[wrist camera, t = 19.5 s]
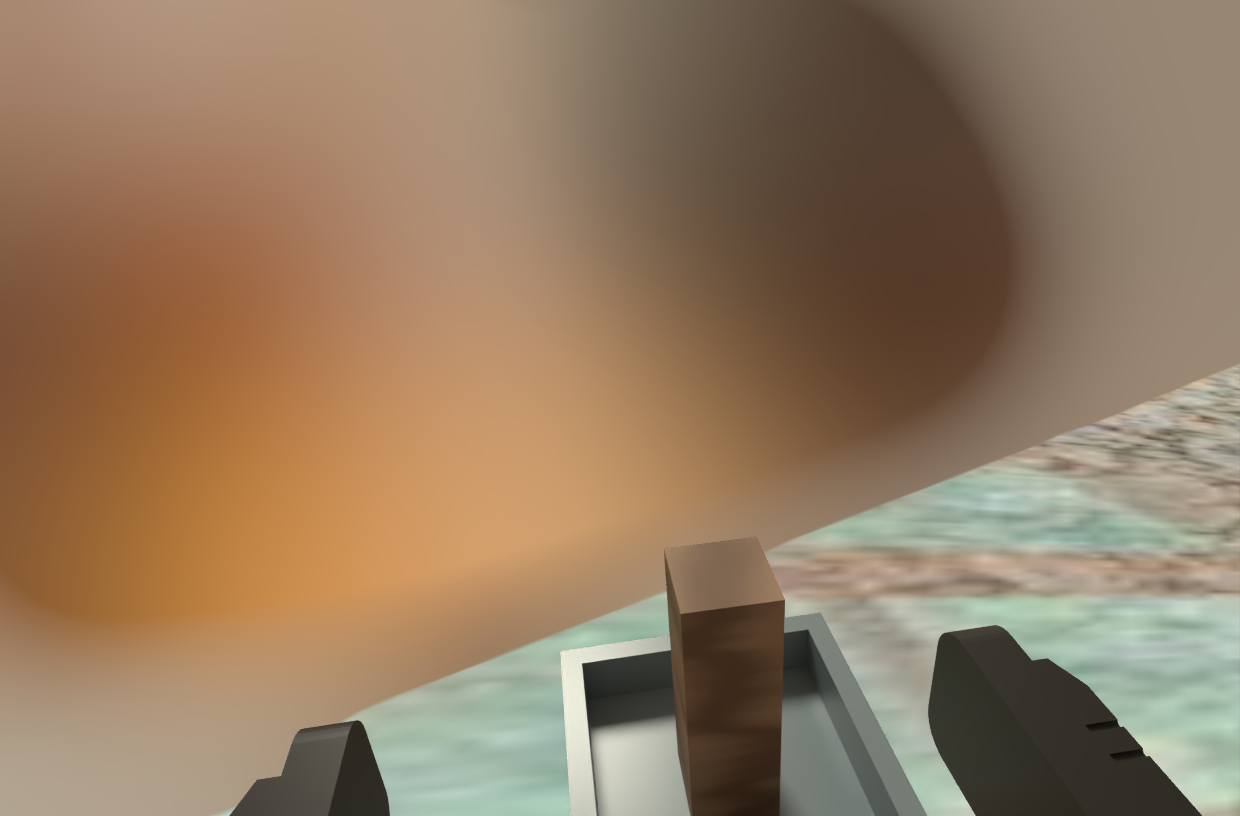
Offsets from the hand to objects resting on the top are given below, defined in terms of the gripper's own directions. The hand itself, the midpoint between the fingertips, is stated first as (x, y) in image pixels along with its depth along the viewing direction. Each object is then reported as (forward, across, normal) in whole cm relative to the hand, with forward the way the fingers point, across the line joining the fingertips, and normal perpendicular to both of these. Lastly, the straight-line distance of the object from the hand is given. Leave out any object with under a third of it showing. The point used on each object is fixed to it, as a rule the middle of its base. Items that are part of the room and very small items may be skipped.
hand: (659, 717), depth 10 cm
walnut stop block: (+18, -5, +27) cm, 33 cm away
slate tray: (+18, -5, +28) cm, 34 cm away
